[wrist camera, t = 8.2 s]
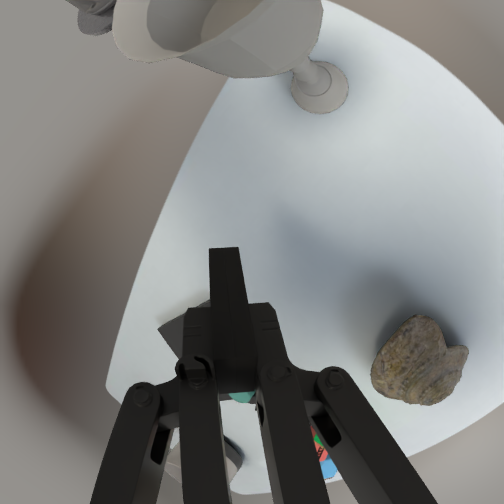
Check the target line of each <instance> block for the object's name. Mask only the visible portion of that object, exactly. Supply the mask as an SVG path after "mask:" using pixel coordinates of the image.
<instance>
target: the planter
mask: <svg viewBox="0 0 504 504" xmlns="http://www.w3.org/2000/svg"><path fill="white" fill-rule="evenodd" d="M224 445H225V454H226V462H227V470H228V477H229V484H230V483H231V481H232V480H233V478H234V476H235V475H236V473H237V472H238V470H239V469H240V467H241V466H242V464H243V461H242V458H241V457H240V455H239V454H238V453H237V452H236V451H235V450H234V449H233V448H232V447H231V446H230V445H229V444H228V443H226V442H225V441H224ZM164 469H165V470H166V471H167V473H169V474H170V475H171V476H172V477H173V478H174V479H176V480H177V481H178V482H180V483H181V484H182V476H181V459H180V441H179V442H178V443H177V445H176V446H175V447H174V448H173V449H172V450H171V451H170V453H169V454H168V456H167V460H166V464H165V468H164Z"/></svg>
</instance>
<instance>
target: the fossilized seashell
mask: <svg viewBox="0 0 504 504" xmlns="http://www.w3.org/2000/svg"><path fill="white" fill-rule="evenodd" d="M468 354H469V350H468V348H467V347H466V346H463V345H454V346H450V347H447V346H446V343H445V340H444V337H443V333H442V331H441V329H440V327H439V326H438V324H437V323H436V322H435V321H434V320H433V319H431V318H430V317H427V316H422V315H414V316H412V317H411V318H409V319H408V320H407V321H405V322H404V323H403V324H402V325H401V326H400V327H399V328H398V330H397V331H396V332H395V333H394V334H393V335H392V336H391V338H390V339H389V340H388V341H387V342H386V343H385V345H384V346H383V347H382V348H381V349H380V351H379V352H378V354H377V356H376V358H375V360H374V362H373V364H372V368H371V374H370V375H371V381H372V385H373V387H374V389H375V390H376V391H377V392H378V393H380V394H382V395H384V397H387V398H391V399H397V400H403V401H404V402H405V403H409V404H420V405H428V406H430V405H433V404H436V403H439V402H440V401H442V400H443V399H445V398H446V397H447V396H449V395H450V394H451V393H452V392H453V390H454V387H455V386H456V384H457V383H458V382H459V381H460V378H461V376H462V369H463V366H464V364H465V362H466V360H467V356H468Z"/></svg>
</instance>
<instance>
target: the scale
mask: <svg viewBox="0 0 504 504" xmlns="http://www.w3.org/2000/svg"><path fill="white" fill-rule="evenodd" d="M197 307H210V300H208V301H207V302H205V303H203V304H201V305H199V306H197ZM197 307H196V308H197ZM184 315H185V313H184V314H183V315H181V316H179V317H177V318H175V319H173V320H171V321H169V322H167V323H166V324H164V325H162V326H161V327H159V328H158V329H157V330H158V331H159V332H160V334H161V335H162V337H163V338H164V340H165V341H166V342H167V344H168V345H169V346H170V348H171V349H172V351H173V352H174V353H175V355H176V356H177V357H178V359H180V358H181V357H182V342H183V318H184ZM231 399H233V398H231V397H230V395H229V394H219V401H224V400H231ZM247 403H250V404H256V392H255V393H254V395H253V396H252V398H251V399H250V401H249V402H247Z"/></svg>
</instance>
